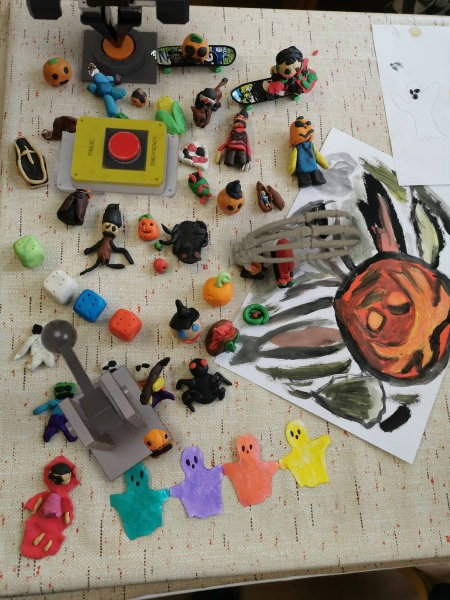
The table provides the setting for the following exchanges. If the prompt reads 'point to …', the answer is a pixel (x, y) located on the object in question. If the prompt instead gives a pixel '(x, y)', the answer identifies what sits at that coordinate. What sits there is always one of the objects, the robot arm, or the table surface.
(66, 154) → the emergency button
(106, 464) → the switch bracket
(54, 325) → the switch lever
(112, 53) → the orange button
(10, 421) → the table surface
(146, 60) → the button box
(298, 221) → the skeletal hand
